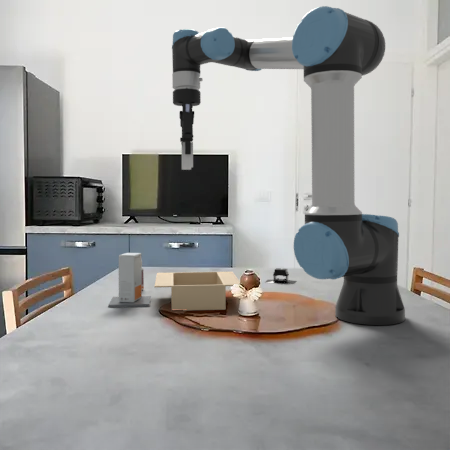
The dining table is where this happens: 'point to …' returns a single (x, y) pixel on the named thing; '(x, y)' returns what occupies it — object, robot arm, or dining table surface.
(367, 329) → the dining table surface
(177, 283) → the carton
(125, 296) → the skincare box
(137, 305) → the coaster
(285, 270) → the black boxy piece
